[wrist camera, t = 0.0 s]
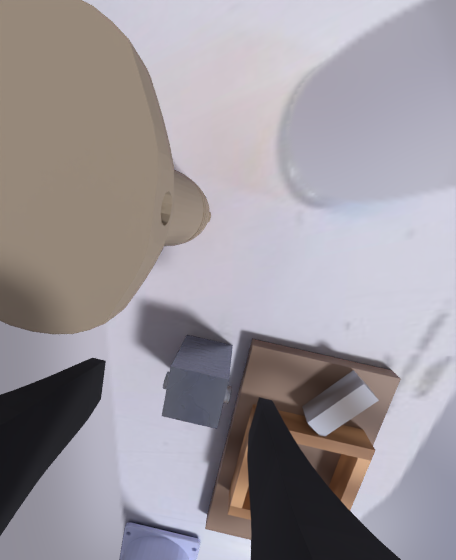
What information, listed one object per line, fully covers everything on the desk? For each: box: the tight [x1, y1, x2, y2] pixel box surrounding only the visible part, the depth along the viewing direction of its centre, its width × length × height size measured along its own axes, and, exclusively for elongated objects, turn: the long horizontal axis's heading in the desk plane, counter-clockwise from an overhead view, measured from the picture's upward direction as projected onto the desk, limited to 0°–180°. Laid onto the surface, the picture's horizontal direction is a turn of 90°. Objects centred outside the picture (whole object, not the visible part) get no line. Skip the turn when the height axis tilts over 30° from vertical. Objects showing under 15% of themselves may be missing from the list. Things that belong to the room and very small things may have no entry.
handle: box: [0, 0, 211, 334], centre depth 12 cm, size 5×6×15 cm
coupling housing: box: [205, 339, 400, 540], centre depth 22 cm, size 20×12×3 cm, turn 168°
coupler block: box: [162, 335, 233, 429], centre depth 20 cm, size 4×5×5 cm
